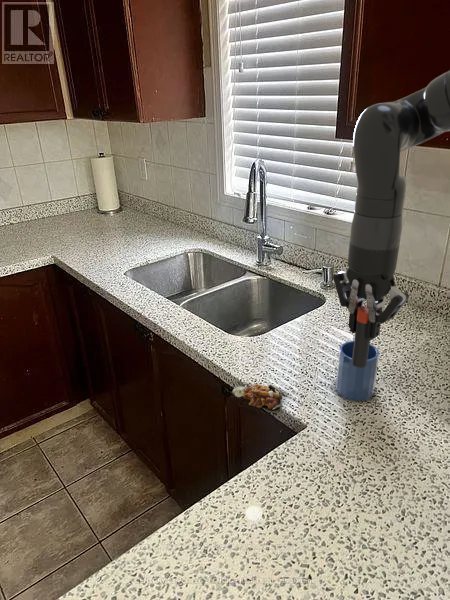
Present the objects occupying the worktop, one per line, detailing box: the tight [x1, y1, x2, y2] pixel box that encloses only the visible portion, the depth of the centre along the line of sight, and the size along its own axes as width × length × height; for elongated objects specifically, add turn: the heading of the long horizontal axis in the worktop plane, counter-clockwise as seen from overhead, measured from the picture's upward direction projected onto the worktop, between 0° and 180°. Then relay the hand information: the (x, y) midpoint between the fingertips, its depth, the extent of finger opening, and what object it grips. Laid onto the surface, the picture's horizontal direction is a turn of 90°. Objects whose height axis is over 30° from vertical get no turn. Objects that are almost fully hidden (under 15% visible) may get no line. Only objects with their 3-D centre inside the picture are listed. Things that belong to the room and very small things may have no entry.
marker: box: [352, 305, 371, 368], centre depth 78 cm, size 3×3×11 cm
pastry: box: [231, 382, 287, 411], centre depth 100 cm, size 7×12×4 cm, turn 68°
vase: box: [335, 340, 380, 402], centre depth 100 cm, size 8×8×11 cm
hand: (362, 334), depth 78 cm, fingers closed on marker, 2 cm apart
